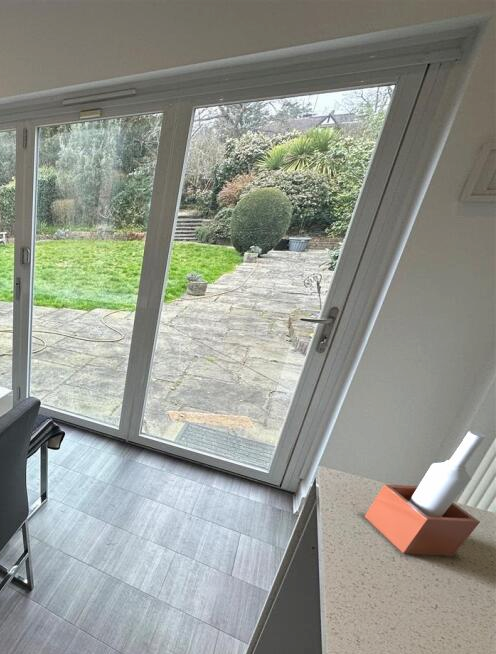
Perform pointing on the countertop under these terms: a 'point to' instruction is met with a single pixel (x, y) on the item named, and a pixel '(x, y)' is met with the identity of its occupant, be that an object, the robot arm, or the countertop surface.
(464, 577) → the countertop surface
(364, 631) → the countertop surface
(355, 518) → the countertop surface
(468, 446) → the bottle
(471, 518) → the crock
